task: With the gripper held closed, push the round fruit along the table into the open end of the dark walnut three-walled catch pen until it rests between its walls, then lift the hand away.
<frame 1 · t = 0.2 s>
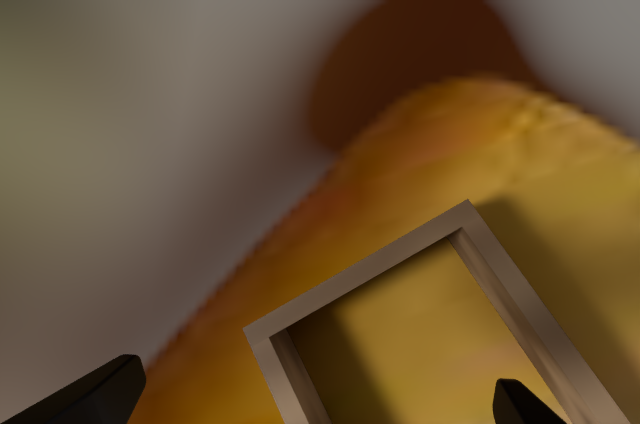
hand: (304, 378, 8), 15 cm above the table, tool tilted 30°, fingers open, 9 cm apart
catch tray: (430, 394, 20), on the table
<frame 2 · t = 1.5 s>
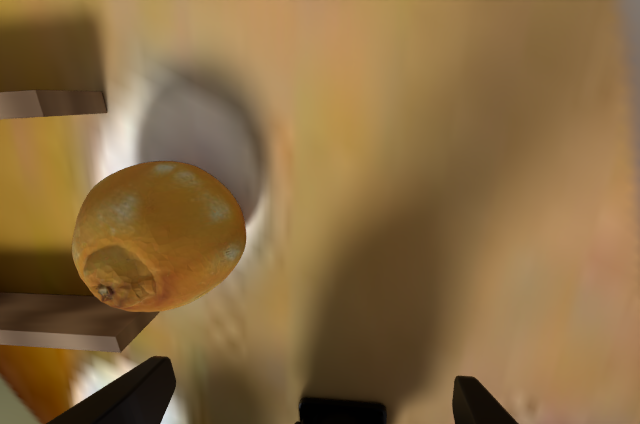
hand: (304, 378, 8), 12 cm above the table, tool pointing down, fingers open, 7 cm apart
fruit: (197, 213, 21), on the table
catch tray: (48, 215, 22), on the table
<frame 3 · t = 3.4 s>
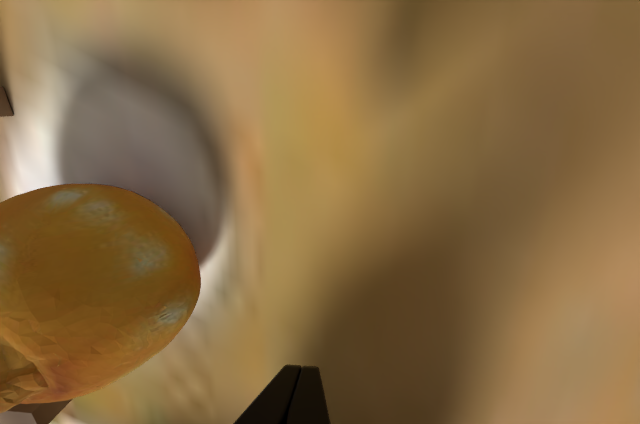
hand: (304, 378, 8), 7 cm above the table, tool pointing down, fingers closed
fruit: (143, 246, 16), on the table
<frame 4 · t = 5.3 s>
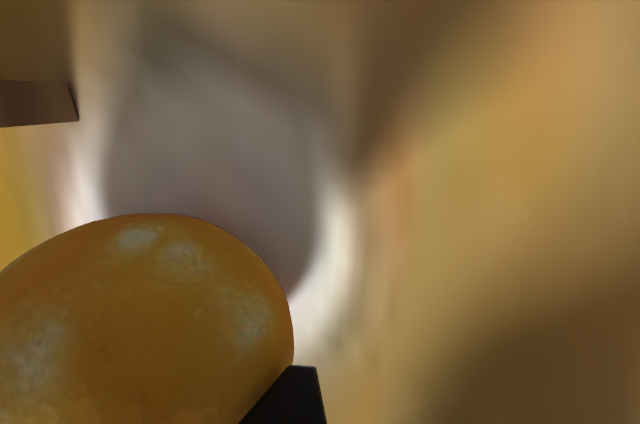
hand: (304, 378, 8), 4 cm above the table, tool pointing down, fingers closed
fruit: (204, 284, 13), on the table, touching gripper
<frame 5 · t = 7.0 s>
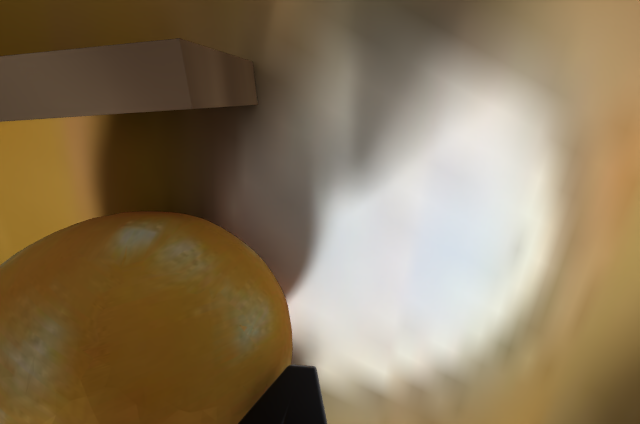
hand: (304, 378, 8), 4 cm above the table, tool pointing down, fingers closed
fruit: (202, 282, 13), on the table, touching gripper
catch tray: (121, 284, 13), on the table
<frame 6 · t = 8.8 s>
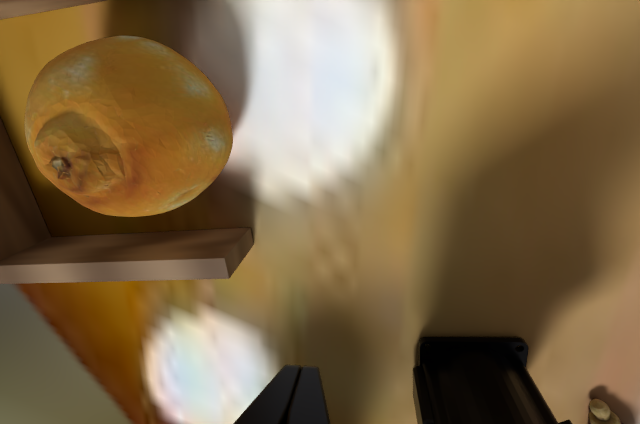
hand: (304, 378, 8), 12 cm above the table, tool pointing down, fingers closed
fruit: (179, 125, 19), on the table
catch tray: (124, 131, 19), on the table
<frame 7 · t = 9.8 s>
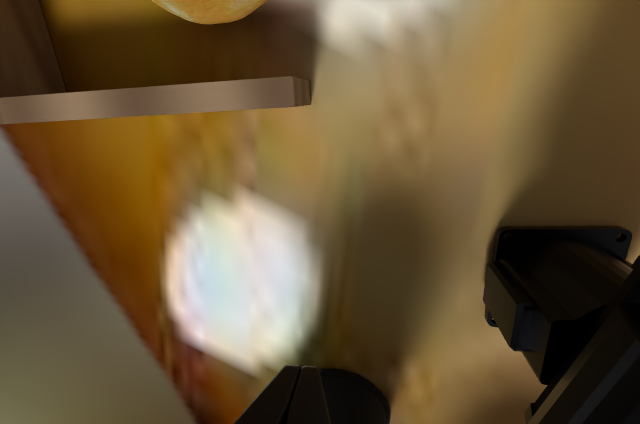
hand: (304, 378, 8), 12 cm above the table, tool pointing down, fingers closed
aerosol can: (335, 406, 25), on the table
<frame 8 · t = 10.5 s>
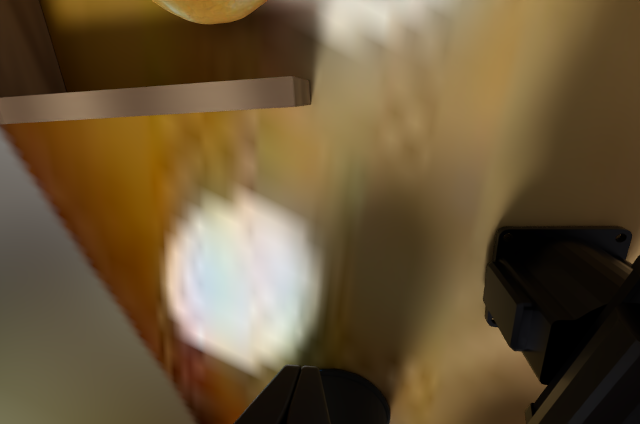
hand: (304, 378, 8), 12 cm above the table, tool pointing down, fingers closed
aerosol can: (335, 406, 25), on the table
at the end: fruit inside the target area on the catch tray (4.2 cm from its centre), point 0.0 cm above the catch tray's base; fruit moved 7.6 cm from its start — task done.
